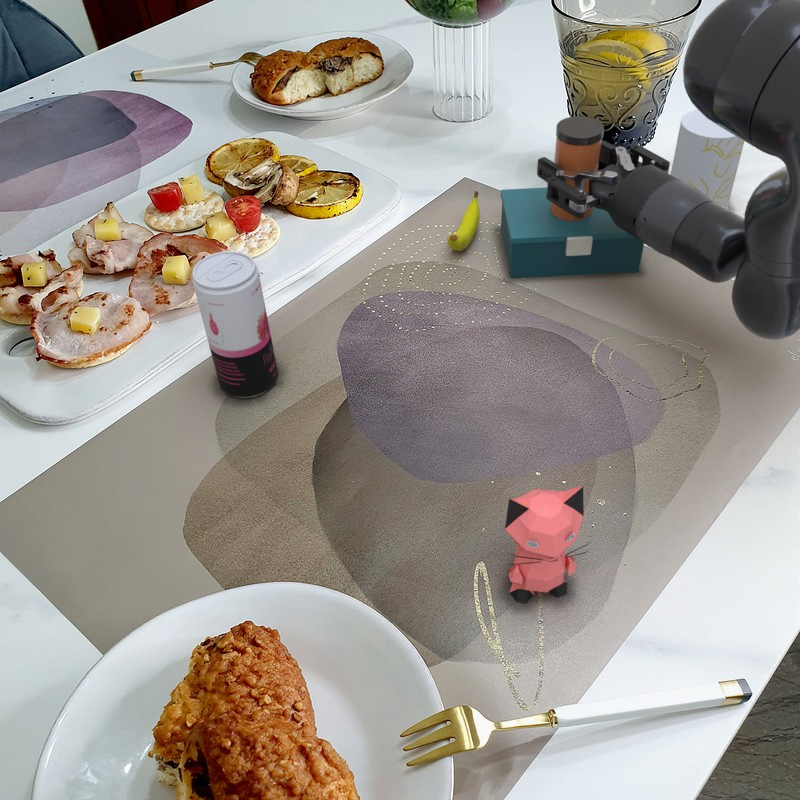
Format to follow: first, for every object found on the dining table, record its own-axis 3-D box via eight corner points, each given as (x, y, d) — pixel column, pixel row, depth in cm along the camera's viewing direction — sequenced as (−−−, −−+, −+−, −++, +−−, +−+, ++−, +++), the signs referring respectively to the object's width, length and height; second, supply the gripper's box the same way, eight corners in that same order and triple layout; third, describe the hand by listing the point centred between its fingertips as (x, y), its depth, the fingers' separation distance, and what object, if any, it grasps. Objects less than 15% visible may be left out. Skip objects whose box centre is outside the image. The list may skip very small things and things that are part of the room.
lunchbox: (620, 221, 115) (627, 181, 111) (642, 275, 106) (649, 233, 102) (498, 227, 115) (500, 187, 111) (509, 281, 106) (511, 241, 102)
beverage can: (290, 378, 95) (270, 266, 85) (243, 409, 92) (216, 297, 81) (254, 352, 99) (230, 242, 88) (207, 381, 95) (177, 270, 85)
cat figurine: (507, 622, 72) (513, 535, 64) (487, 556, 77) (491, 467, 68) (588, 607, 73) (605, 519, 64) (563, 543, 77) (576, 453, 69)
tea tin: (588, 197, 108) (599, 114, 101) (597, 220, 104) (608, 136, 97) (546, 199, 108) (553, 117, 101) (552, 222, 104) (560, 139, 97)
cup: (690, 227, 113) (709, 143, 105) (652, 199, 118) (668, 117, 110) (739, 212, 115) (762, 128, 107) (700, 185, 121) (719, 103, 112)
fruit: (469, 221, 117) (469, 188, 113) (483, 223, 116) (484, 190, 113) (444, 262, 110) (444, 228, 106) (460, 265, 109) (460, 231, 106)
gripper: (718, 162, 93) (614, 108, 103) (619, 204, 88) (520, 143, 98) (704, 222, 98) (606, 165, 108) (610, 264, 93) (517, 201, 103)
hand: (565, 155), depth 103 cm, fingers open, 7 cm apart
